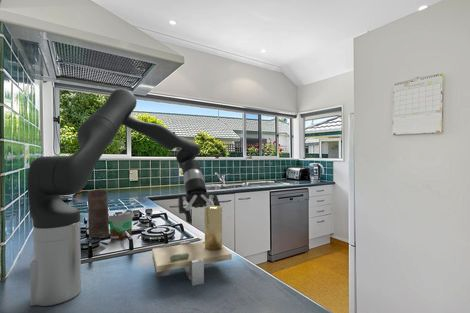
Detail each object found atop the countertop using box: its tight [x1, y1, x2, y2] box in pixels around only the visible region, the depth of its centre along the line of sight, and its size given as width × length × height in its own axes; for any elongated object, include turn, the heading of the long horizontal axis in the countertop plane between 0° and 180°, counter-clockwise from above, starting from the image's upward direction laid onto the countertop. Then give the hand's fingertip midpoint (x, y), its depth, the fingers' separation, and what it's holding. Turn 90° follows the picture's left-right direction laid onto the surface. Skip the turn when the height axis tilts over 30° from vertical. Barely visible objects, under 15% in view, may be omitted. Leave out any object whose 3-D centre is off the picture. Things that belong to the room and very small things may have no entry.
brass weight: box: [204, 205, 223, 251], centre depth 76 cm, size 5×5×12 cm
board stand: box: [179, 240, 205, 287], centre depth 73 cm, size 3×17×6 cm, turn 22°
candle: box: [87, 188, 110, 239], centre depth 105 cm, size 8×7×20 cm
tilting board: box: [151, 241, 233, 278], centre depth 73 cm, size 20×13×4 cm, turn 112°
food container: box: [108, 209, 135, 241], centre depth 105 cm, size 12×6×10 cm, turn 168°
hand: (202, 221), depth 86 cm, fingers open, 8 cm apart
